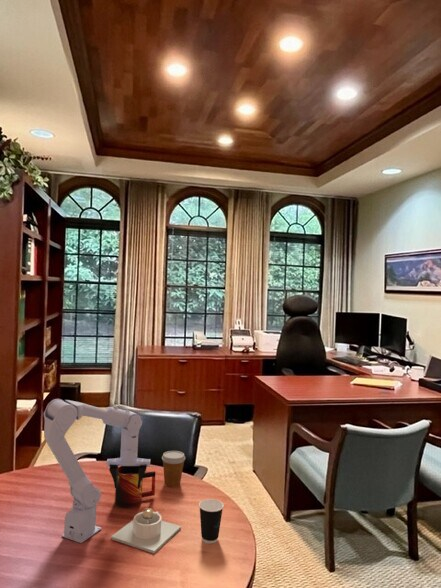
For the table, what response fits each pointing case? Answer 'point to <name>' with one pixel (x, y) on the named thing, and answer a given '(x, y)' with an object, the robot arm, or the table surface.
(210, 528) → the dixie cup
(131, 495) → the mug
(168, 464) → the disposable coffee cup
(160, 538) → the white square-based fixture
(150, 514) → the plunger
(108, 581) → the table surface
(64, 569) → the table surface
